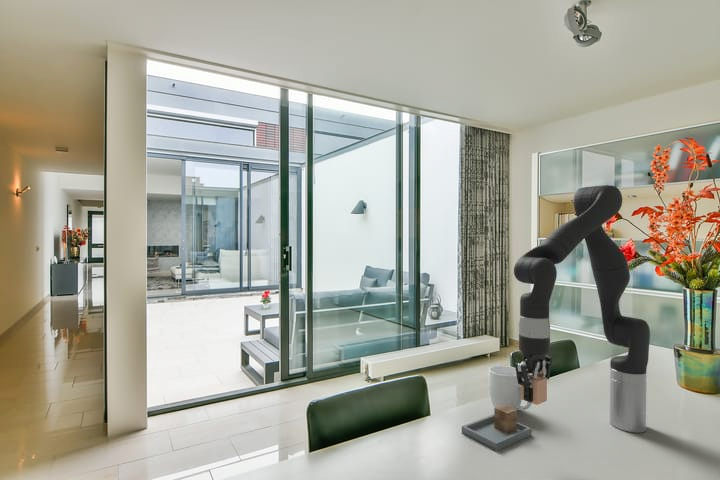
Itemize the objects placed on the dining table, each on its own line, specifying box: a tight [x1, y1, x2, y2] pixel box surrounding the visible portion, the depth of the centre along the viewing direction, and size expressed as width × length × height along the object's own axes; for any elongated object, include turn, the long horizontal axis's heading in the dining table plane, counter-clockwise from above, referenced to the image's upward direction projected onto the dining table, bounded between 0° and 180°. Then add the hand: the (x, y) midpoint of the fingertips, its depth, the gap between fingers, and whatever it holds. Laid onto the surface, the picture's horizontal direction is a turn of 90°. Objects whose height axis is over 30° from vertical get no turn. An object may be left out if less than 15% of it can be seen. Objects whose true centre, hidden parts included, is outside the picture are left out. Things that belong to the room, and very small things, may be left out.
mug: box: [488, 365, 533, 411], centre depth 133 cm, size 15×11×13 cm
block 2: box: [521, 373, 548, 406], centre depth 105 cm, size 4×4×6 cm
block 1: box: [493, 405, 518, 434], centre depth 119 cm, size 4×4×6 cm
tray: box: [461, 413, 532, 452], centre depth 117 cm, size 16×12×2 cm
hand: (533, 398), depth 105 cm, fingers closed on block 2, 4 cm apart
